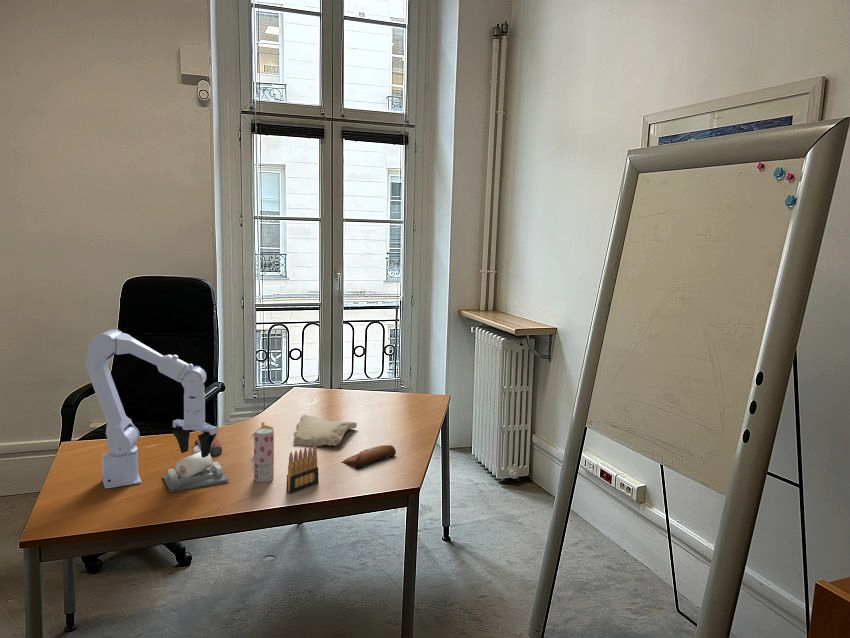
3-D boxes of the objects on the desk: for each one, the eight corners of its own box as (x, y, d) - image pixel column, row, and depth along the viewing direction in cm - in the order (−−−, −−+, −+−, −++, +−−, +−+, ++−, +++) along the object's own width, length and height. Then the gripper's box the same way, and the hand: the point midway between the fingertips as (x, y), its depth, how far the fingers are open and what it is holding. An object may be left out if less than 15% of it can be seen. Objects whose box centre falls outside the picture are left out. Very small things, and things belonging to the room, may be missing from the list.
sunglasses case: (377, 449, 218) (385, 435, 215) (390, 463, 214) (398, 450, 211) (339, 462, 204) (346, 448, 201) (351, 478, 201) (359, 464, 198)
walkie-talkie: (188, 446, 214) (198, 466, 197) (188, 434, 214) (198, 453, 196) (215, 443, 218) (227, 463, 201) (215, 431, 218) (227, 449, 201)
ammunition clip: (290, 494, 179) (290, 453, 177) (286, 492, 180) (286, 451, 178) (318, 483, 187) (319, 444, 186) (314, 481, 188) (315, 442, 187)
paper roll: (191, 479, 180) (189, 460, 180) (176, 478, 183) (174, 459, 182) (213, 468, 189) (211, 450, 188) (198, 467, 191) (196, 450, 190)
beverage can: (276, 475, 191) (276, 428, 189) (270, 483, 186) (270, 434, 184) (257, 474, 192) (257, 427, 190) (251, 482, 186) (251, 433, 184)
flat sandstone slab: (283, 447, 219) (338, 448, 215) (282, 426, 219) (337, 426, 215) (309, 429, 243) (359, 429, 239) (308, 410, 242) (358, 409, 238)
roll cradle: (170, 492, 177) (170, 480, 176) (162, 477, 187) (162, 466, 186) (228, 482, 185) (228, 471, 185) (217, 468, 195) (217, 457, 195)
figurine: (268, 451, 211) (268, 417, 210) (277, 456, 207) (278, 421, 206) (245, 457, 206) (245, 421, 204) (255, 462, 201) (255, 426, 200)
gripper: (164, 408, 182) (165, 454, 184) (204, 416, 177) (204, 462, 178) (182, 403, 188) (182, 446, 190) (221, 410, 183) (221, 455, 185)
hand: (194, 454), depth 185 cm, fingers open, 7 cm apart
